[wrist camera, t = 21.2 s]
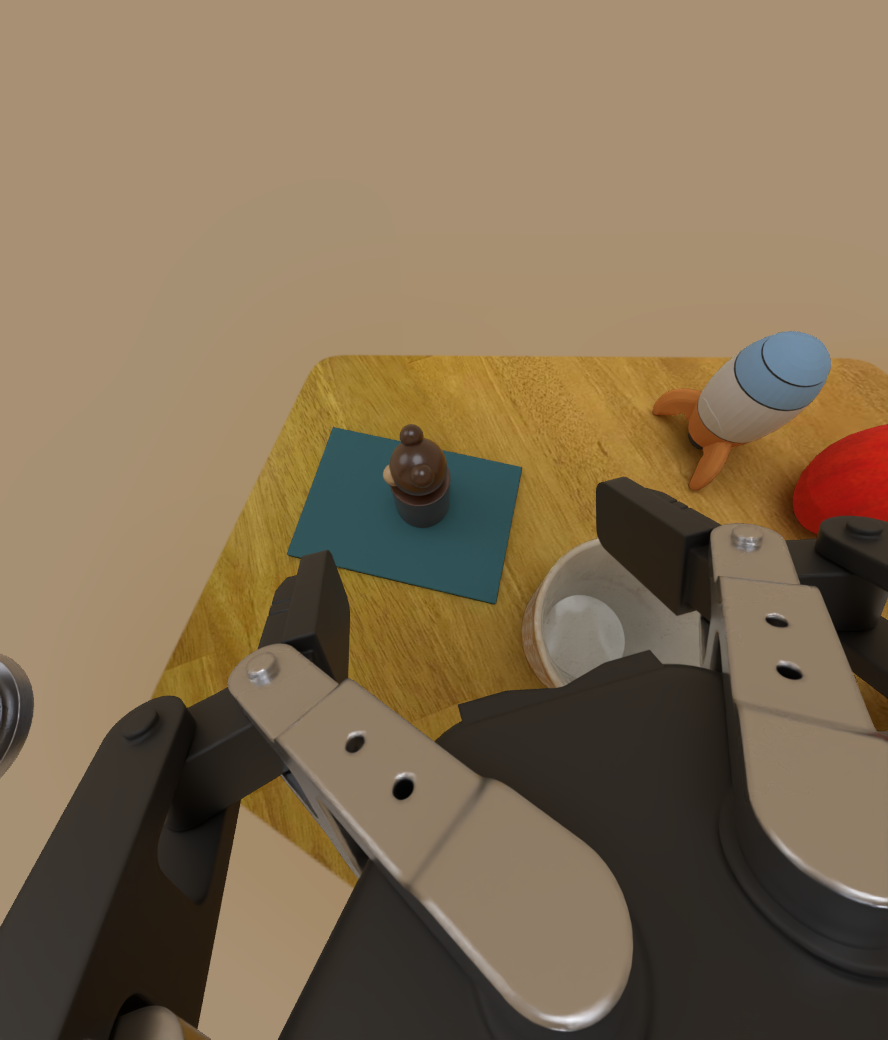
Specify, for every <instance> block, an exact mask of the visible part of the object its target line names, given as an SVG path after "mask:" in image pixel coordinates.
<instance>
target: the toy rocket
mask: <svg viewBox="0 0 888 1040" xmlns="http://www.w3.org/2000/svg"><path fill="white" fill-rule="evenodd" d="M830 369H831V359H830V355H829V353H828V351H827V349H826V347H825V345H824V344H823V343H822V342H821V341H820V340H818V339H817V338H815V337H814V336H811V335H809V334H806V333H801V332H794V331H793V332H792V331H789V332H781V333H777V334H775V335H772V336H768V337H765V338H763V339H761V340H759V341H757V342H754V343H753V344H751V345H749V346H748V347H746V348H744V349H743V350H742V351H740V352H739V353H738V354H736V355H735V356H734V357H733V358H731V359H730V360H729V361H728V362H727V363H725V364H724V365H723V366H722V367H721V368H720V369H719V370H718V371H717V372H716V374H715V375H714V376H713V377H712V378H711V380H710V381H709V382H708V384H707V385H706V386H705V388H704V389H703V391H702V392H701V391H697V390H693V389H684V388H682V389H675V390H671V391H668V392H667V393H665V394H663V395H662V396H661V397H660V398H659V399H658V400H657V402H656V403H655V405H654V410H653V413H654V415H678V414H680V413H682V414H684V415H685V417H686V419H687V420H689V425H688V429H689V434H688V438H689V441H690V442H691V444H692V445H693V446H694V447H696V448H698V449H700V450H703V454H704V455H703V457H702V458H701V459H700V461H699V463H698V465H697V468H696V470H695V472H694V475H693V477H692V479H691V481H690V483H689V487H690V488H691V489H692V490H699V489H700V488H702V487H704V486H706V485H707V484H709V483H710V482H711V481H712V480H713V479H714V478H715V477H716V476H717V474H718V473H719V472H720V470H721V469H722V467H723V466H724V464H725V462H726V460H727V458H728V455H729V453H730V450H731V448H732V447H735V446H739V445H742V444H746V443H749V442H752V441H755V440H758V439H760V438H762V437H764V436H766V435H768V434H770V433H772V432H774V431H776V430H777V429H779V428H780V427H782V426H784V425H785V424H787V423H788V422H789V421H791V420H792V419H793V418H795V417H796V416H797V415H798V414H799V413H800V412H801V411H802V410H804V409H805V408H806V407H807V406H808V405H809V404H810V403H811V402H812V401H813V400H814V399H815V397H816V396H817V395H818V393H819V392H820V390H821V389H822V387H823V385H824V384H825V382H826V379H827V376H828V374H829V372H830Z"/></svg>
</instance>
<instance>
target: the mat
mask: <svg viewBox="0 0 888 1040" xmlns="http://www.w3.org/2000/svg"><path fill="white" fill-rule="evenodd" d="M400 443H402V442H401V441H396V440H391V439H387V438H382V437H377V436H373V435H368V434H363V433H358V432H354V431H349V430H344V429H340V428H335V427H333V429H332V432H331V435H330V437H329V440H328V443H327V445H326V448H325V451H324V454H323V456H322V459H321V462H320V465H319V467H318V470H317V473H316V476H315V478H314V481H313V484H312V487H311V489H310V492H309V495H308V497H307V500H306V503H305V506H304V508H303V511H302V514H301V517H300V519H299V522H298V525H297V528H296V530H295V533H294V536H293V538H292V541H291V544H290V547H289V549H288V552H287V555H289V556H293V557H297V558H301V557H302V556H305V555H309V554H313V553H317V552H321V551H325V550H329V551H330V552H331V554H332V556H333V559H334V562H335V564H336V567H339V568H344V569H348V570H352V571H356V572H361V573H365V574H369V575H373V576H377V577H382V578H386V579H390V580H394V581H399V582H403V583H407V584H411V585H415V586H420V587H424V588H428V589H432V590H436V591H441V592H445V593H449V594H453V595H458V596H462V597H466V598H470V599H474V600H479V601H483V602H487V603H491V604H496V600H497V595H498V589H499V584H500V579H501V574H502V569H503V564H504V558H505V553H506V548H507V543H508V538H509V533H510V528H511V522H512V517H513V512H514V507H515V502H516V497H517V491H518V486H519V481H520V476H521V471H522V467H519V466H514V465H509V464H504V463H500V462H495V461H490V460H486V459H481V458H476V457H471V456H467V455H462V454H457V453H453V452H448V451H443V450H442V451H443V453H444V455H445V457H446V461H447V466H448V468H449V471H450V477H451V479H450V503H449V509H448V512H447V514H446V516H445V517H444V518H443V519H442V520H441V521H440V522H439V523H437V524H436V525H434V526H431V527H426V528H418V527H414V526H411V525H409V524H408V523H406V522H405V521H404V520H403V519H402V518H401V517H400V515H399V513H398V511H397V507H396V504H395V501H394V498H393V494H392V491H391V488H390V485H389V484H387V483H386V482H385V480H384V478H383V471H384V469H385V468H386V466H388V465H389V463H390V458H391V455H392V453H393V451H394V450H395V448H396V447H397V446H398V445H399V444H400Z"/></svg>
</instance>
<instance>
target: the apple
mask: <svg viewBox="0 0 888 1040" xmlns="http://www.w3.org/2000/svg"><path fill="white" fill-rule="evenodd" d="M793 510H794V513H795V516H796V518H797V520H798V522H799V523H800V524H801V525H802V526H803V527H804V528H806V529H807V530H808V531H810V532H812V533H814V534H816V535H818V531H819V527H820V524H821V522H823V521H824V520H826V519H828V518H831V517H836V516H861V517H868V518H874V519H878V520H882V521H886V522H888V424H887V425H881V426H877V427H873V428H870V429H866V430H863V431H860V432H857V433H854V434H851V435H849V436H847V437H845V438H843V439H841V440H839V441H837V442H835V443H833V444H831V445H830V446H828V447H827V448H826V449H825V450H823V451H822V452H821V453H819V454H818V455H817V456H816V457H815V458H814V459H813V460H812V462H811V463H810V464H809V465H808V466H807V467H806V468H805V470H804V471H803V472H802V474H801V476H800V478H799V480H798V482H797V485H796V487H795V489H794V495H793Z"/></svg>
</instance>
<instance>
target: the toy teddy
mask: <svg viewBox="0 0 888 1040" xmlns="http://www.w3.org/2000/svg"><path fill="white" fill-rule="evenodd" d="M400 440H401V442H402V443H400V444H399V445H398V446H397V447H396V448H395V450H394V451H393V453H392V455H391V458H390V463H389V465H388V466H386V468H385V469H384V471H383V478H384V480H385V482H386V483H387V484H389V485H390V488H391V491H392V494H393V498H394V501H395V504H396V507H397V511H398V513H399V515H400V517H401V518H402V519H403V520H404V521H405V522H406V523H408V524H409V525H411V526H414V527H418V528H426V527H431V526H434V525H436V524H437V523H439V522H440V521H441V520H442V519H443V518H444V517H445V516H446V514H447V512H448V509H449V503H450V479H451V477H450V471H449V468H448V466H447V461H446V457H445V455H444V453H443V451H442V449H441V448H440V447H439V446H438V445H437V444H436V443H434V442H433V441H431V440H429V439H426V438H423V432H422V430H421V429H420V428H419V427H418V426H416V425H413V424H410V425H407V426H405V427H404V428H403V429H402V430H401V432H400Z"/></svg>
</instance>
